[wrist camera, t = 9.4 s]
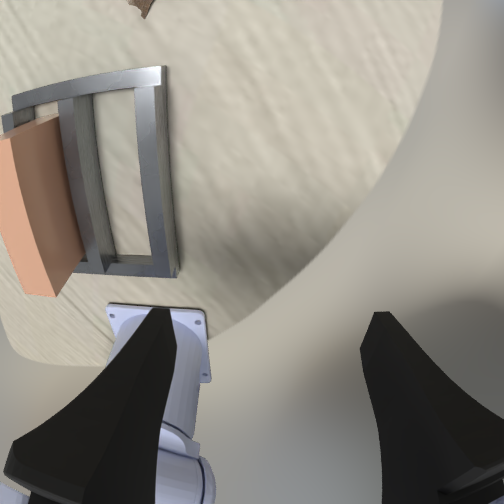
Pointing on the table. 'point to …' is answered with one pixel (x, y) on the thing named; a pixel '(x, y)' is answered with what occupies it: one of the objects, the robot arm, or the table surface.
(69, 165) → the drying rack
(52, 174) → the terracotta strip
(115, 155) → the table surface
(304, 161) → the table surface
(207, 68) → the table surface
